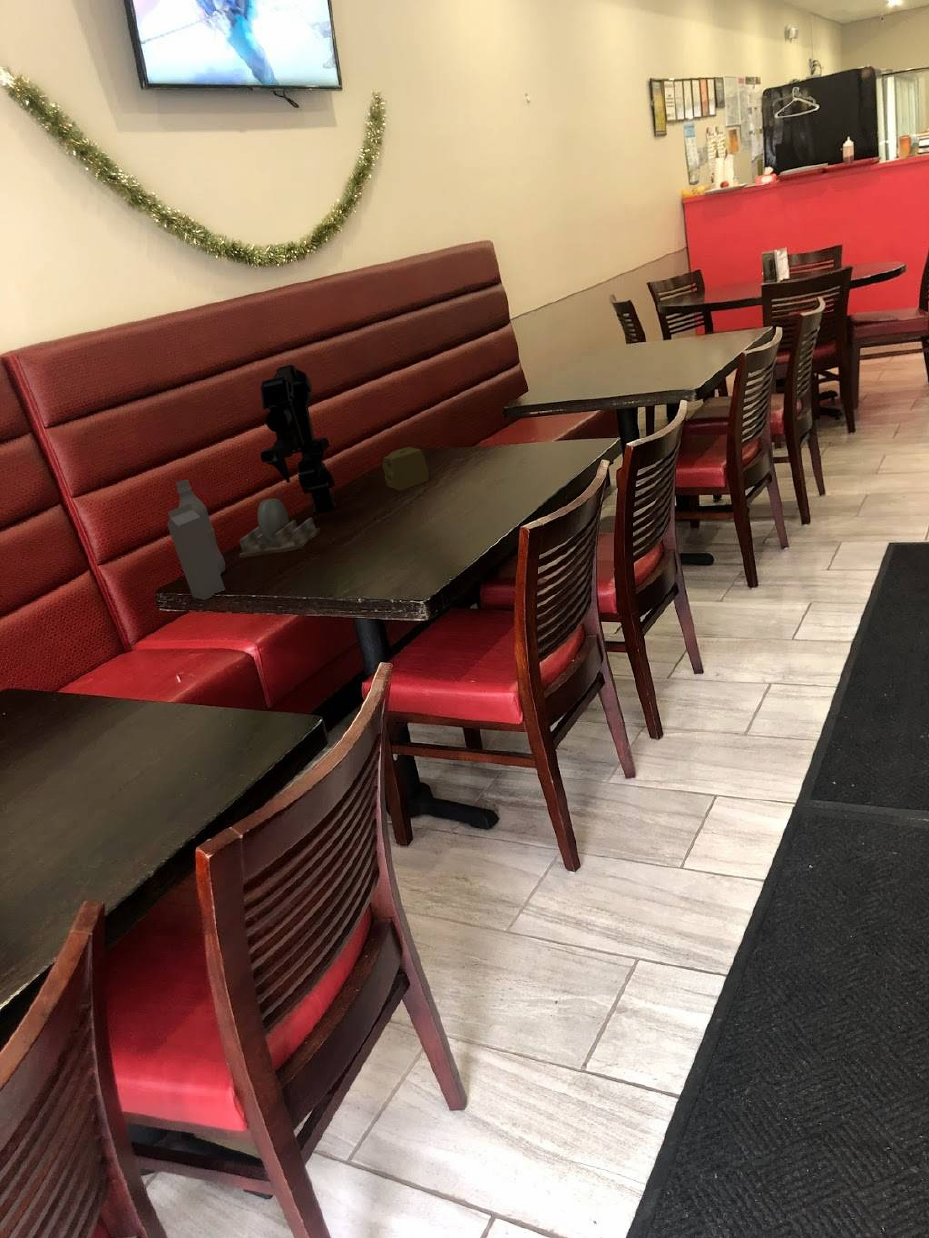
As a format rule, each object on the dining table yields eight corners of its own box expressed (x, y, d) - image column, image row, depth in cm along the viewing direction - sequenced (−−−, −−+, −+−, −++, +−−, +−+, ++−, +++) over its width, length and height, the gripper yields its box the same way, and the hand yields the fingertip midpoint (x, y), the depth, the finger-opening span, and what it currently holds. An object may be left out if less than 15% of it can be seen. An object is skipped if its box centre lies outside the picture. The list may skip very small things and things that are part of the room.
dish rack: (263, 540, 275) (258, 524, 274) (320, 531, 269) (316, 515, 268) (240, 558, 263) (234, 542, 261) (299, 549, 257) (294, 533, 255)
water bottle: (220, 578, 249) (187, 483, 241) (195, 582, 251) (162, 488, 242) (232, 567, 256) (200, 475, 247) (207, 571, 258) (175, 480, 249)
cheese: (387, 487, 300) (378, 455, 297) (419, 476, 304) (410, 445, 300) (398, 492, 291) (390, 459, 287) (431, 481, 294) (423, 448, 291)
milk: (225, 591, 238) (196, 503, 230) (204, 600, 235) (173, 512, 227) (213, 588, 242) (184, 502, 235) (192, 597, 239) (162, 511, 231)
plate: (284, 534, 271) (272, 494, 267) (293, 533, 270) (280, 492, 266) (266, 549, 261) (252, 507, 257) (275, 548, 260) (261, 506, 256)
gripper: (243, 438, 263) (261, 494, 269) (305, 426, 257) (322, 483, 263) (262, 427, 273) (278, 482, 279) (322, 416, 267) (338, 471, 272)
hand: (303, 480), depth 273 cm, fingers open, 9 cm apart
